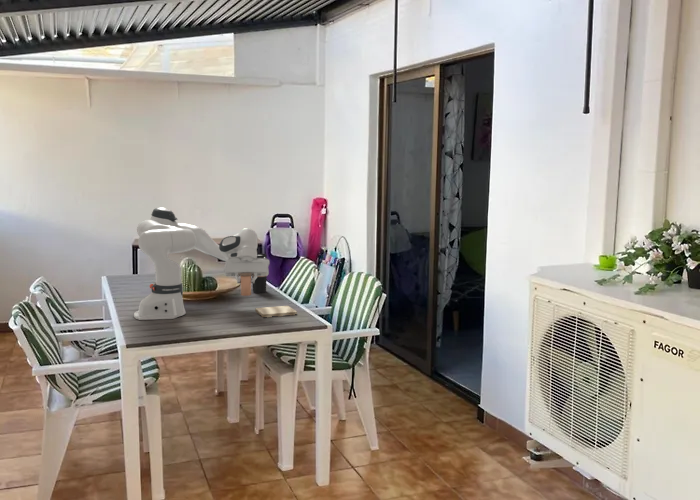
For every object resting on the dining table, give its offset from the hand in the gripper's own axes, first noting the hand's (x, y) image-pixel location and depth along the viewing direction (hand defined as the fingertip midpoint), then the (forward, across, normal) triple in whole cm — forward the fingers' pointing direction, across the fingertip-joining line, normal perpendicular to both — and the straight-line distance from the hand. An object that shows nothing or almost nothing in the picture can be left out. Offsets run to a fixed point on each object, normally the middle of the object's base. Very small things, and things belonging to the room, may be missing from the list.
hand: (245, 282), depth 296 cm
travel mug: (-26, -2, -46) cm, 53 cm away
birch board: (+8, -13, -13) cm, 20 cm away
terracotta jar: (+4, 0, -4) cm, 6 cm away
